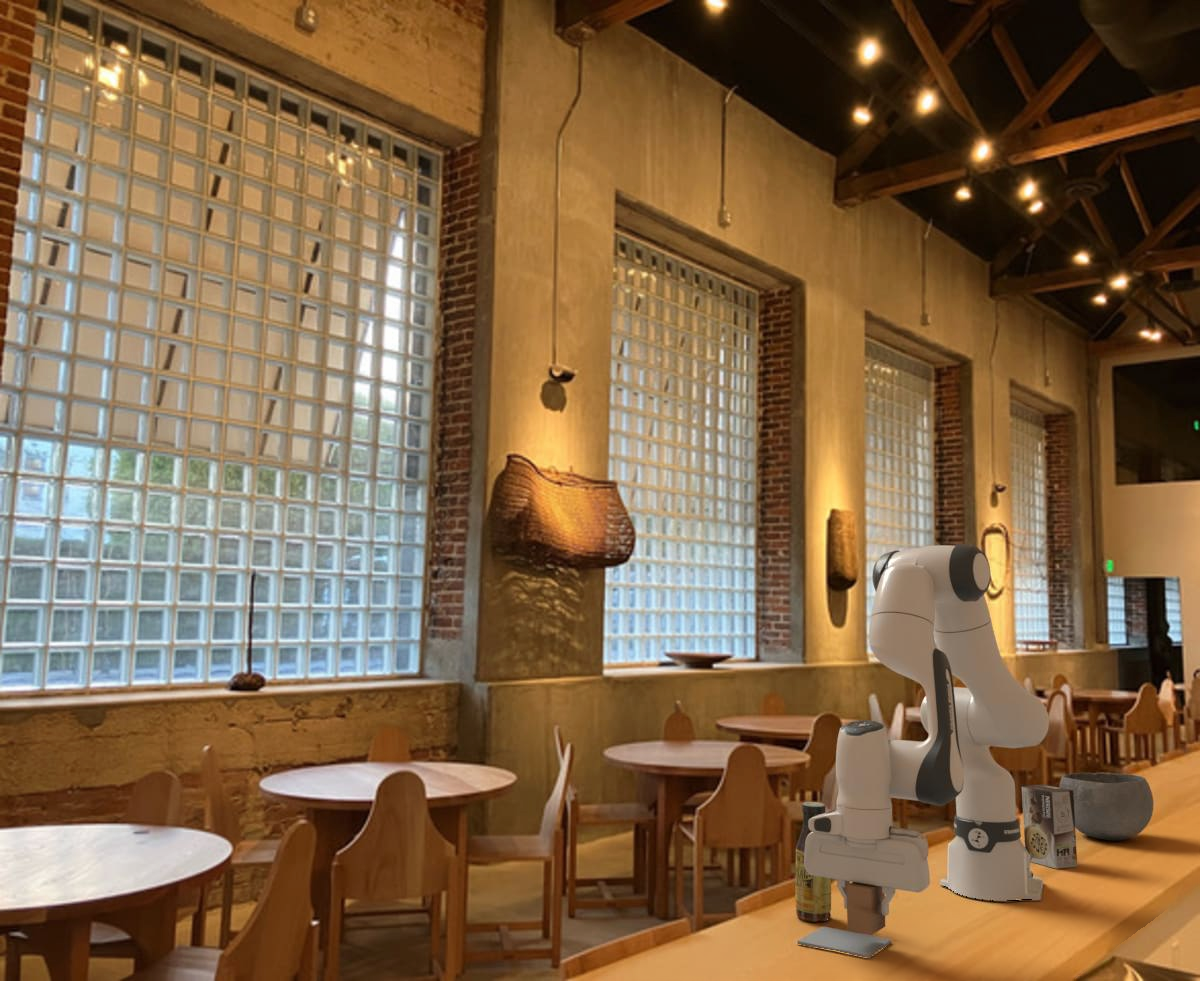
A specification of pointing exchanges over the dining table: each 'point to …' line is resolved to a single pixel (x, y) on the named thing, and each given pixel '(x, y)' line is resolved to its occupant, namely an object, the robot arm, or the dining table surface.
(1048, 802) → the coffee box
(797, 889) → the sauce bottle
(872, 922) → the walnut block
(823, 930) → the mat
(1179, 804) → the dining table surface
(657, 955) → the dining table surface
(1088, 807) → the bowl
